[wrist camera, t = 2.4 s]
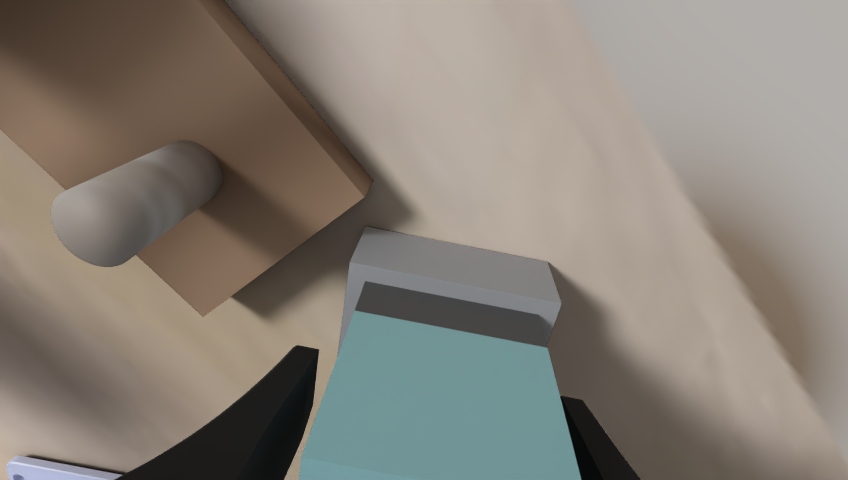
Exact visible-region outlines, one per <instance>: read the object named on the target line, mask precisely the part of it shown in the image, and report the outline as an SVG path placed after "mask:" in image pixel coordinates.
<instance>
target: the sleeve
mask: <svg viewBox="0 0 848 480" xmlns="http://www.w3.org/2000/svg"><path fill="white" fill-rule="evenodd" d="M299 480H581V476H580V472H579V468H578V465H577V461H576V457H575V453H574V449H573V445H572V441H571V437H570V433H569V429H568V425H567V422H566V418H565V414H564V410H563V406H562V402H561V398H560V394H559V390H558V386H557V382H556V379H555V375H554V371H553V367H552V363H551V359H550V355H549V351H548V347H547V343H546V340H545V336H544V332H543V328H542V324H541V320H540V316H539V315H538V314H533V313H528V312H522V311H517V310H512V309H507V308H502V307H497V306H491V305H486V304H481V303H476V302H471V301H466V300H461V299H455V298H450V297H445V296H440V295H435V294H430V293H425V292H419V291H414V290H409V289H404V288H399V287H394V286H389V285H383V284H378V283H373V282H368V281H365V283H364V286H363V288H362V291H361V294H360V297H359V299H358V302H357V305H356V308H355V310H354V313H353V316H352V319H351V321H350V324H349V327H348V330H347V332H346V335H345V338H344V341H343V343H342V346H341V349H340V352H339V355H338V357H337V360H336V363H335V366H334V368H333V371H332V374H331V377H330V379H329V382H328V385H327V388H326V390H325V393H324V396H323V399H322V401H321V404H320V407H319V410H318V412H317V415H316V418H315V421H314V424H313V426H312V429H311V432H310V435H309V437H308V440H307V443H306V446H305V448H304V451H303V454H302V457H301V465H300V474H299Z"/></svg>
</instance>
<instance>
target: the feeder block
mask: <svg viewBox="0 0 848 480" xmlns="http://www.w3.org/2000/svg"><path fill="white" fill-rule="evenodd" d="M365 281H368V282H373V283H378V284H383V285H389V286H394V287H399V288H404V289H409V290H414V291H419V292H425V293H430V294H435V295H440V296H445V297H450V298H455V299H461V300H466V301H471V302H476V303H481V304H486V305H491V306H497V307H502V308H507V309H512V310H517V311H522V312H528V313H533V314H538V315H539V316H540V320H541V324H542V328H543V332H544V336H545V340H546V343H548V340H549V337H550V335H551V332H552V329H553V326H554V324H555V321H556V318H557V315H558V313H559V310H560V307H561V304H562V303H561V300H560V297H559V294H558V291H557V288H556V285H555V282H554V279H553V276H552V274H551V271H550V268H549V265H548V262H546V261H541V260H535V259H530V258H525V257H520V256H515V255H510V254H505V253H500V252H495V251H489V250H484V249H479V248H474V247H469V246H464V245H459V244H454V243H449V242H443V241H438V240H433V239H428V238H423V237H418V236H413V235H408V234H403V233H397V232H392V231H387V230H382V229H377V228H372V227H367V226H366V227H365V229H364V232H363V234H362V236H361V238H360V240H359V243H358V245H357V247H356V249H355V251H354V254H353V256H352V258H351V260H350V264H349V271H348V279H347V286H346V294H345V302H344V309H343V317H342V325H341V332H340V340H339V348H338V355H339V352H340V349H341V346H342V343H343V341H344V338H345V335H346V332H347V330H348V327H349V324H350V321H351V319H352V316H353V313H354V310H355V308H356V305H357V302H358V299H359V297H360V294H361V291H362V288H363V286H364V283H365ZM338 355H337V357H338Z"/></svg>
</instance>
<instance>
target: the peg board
mask: <svg viewBox="0 0 848 480" xmlns="http://www.w3.org/2000/svg"><path fill="white" fill-rule="evenodd" d="M0 129H1V130H2V131H3V132H4V133H5V134H6V135H7V136H8V137H9V138H10V139H11V140H12V141H14V142H15V143H16V144H17V145H18V146H19V147H20V148H21V149H22V150H23V151H24V152H25V153H27V154H28V155H29V156H30V157H31V158H32V159H33V160H34V161H35V162H36V163H37V164H38V165H39V166H41V167H42V168H43V169H44V170H45V171H46V172H47V173H48V174H49V175H50V176H51V177H52V178H54V179H55V180H56V181H57V182H58V183H59V184H60V185H61V186H62V187H63V188H64V189H65V190H66V191H64V192H62V193H61V194H60V195H58V197H57V198H56V199H55V201H54V202H53V205H52V208H51V221H52V225H53V228H54V231H55V233H56V235H57V237H58V238H59V240H60V241H61V243H62V244H63V245H64V246H65V247H66V248H67V249H68V250H69V251H70V252H71V253H72V254H74V255H75V256H77V257H78V258H80V259H81V260H83V261H85V262H88V263H90V264H93V265H96V266H102V267H113V266H118V265H121V264H123V263H125V262H126V261H128V260H129V259H130V258H132V257H133V256H135V255H137V256H138V257H139V258H140V259H141V260H142V261H143V262H144V263H145V264H146V265H148V266H149V267H150V268H151V269H152V270H153V271H154V272H155V273H156V274H157V275H158V276H159V277H160V278H162V279H163V280H164V281H165V282H166V283H167V284H168V285H169V286H170V287H171V288H172V289H173V290H175V291H176V292H177V293H178V294H179V295H180V296H181V297H182V298H183V299H184V300H185V301H186V302H187V303H189V304H190V305H191V306H192V307H193V308H194V309H195V310H196V311H197V312H198V313H199V314H200V315H202V316H203V317H204V316H205V315H206V314H208V313H209V312H210V311H212V310H213V309H215V308H216V307H217V306H219V305H220V304H221V303H223V302H224V301H225V300H227V299H228V298H229V297H231V296H232V295H233V294H235V293H236V292H237V291H239V290H240V289H241V288H243V287H244V286H246V285H247V284H248V283H250V282H251V281H252V280H254V279H255V278H256V277H258V276H259V275H260V274H262V273H263V272H264V271H266V270H267V269H268V268H270V267H271V266H272V265H274V264H275V263H277V262H278V261H279V260H281V259H282V258H283V257H285V256H286V255H287V254H289V253H290V252H291V251H293V250H294V249H295V248H297V247H298V246H299V245H301V244H302V243H304V242H305V241H306V240H308V239H309V238H310V237H312V236H313V235H314V234H316V233H317V232H318V231H320V230H321V229H322V228H324V227H325V226H326V225H328V224H329V223H330V222H332V221H333V220H335V219H336V218H337V217H339V216H340V215H341V214H343V213H344V212H345V211H347V210H348V209H349V208H351V207H352V206H353V205H355V204H356V203H357V202H359V201H360V200H362V199H363V198H364V197H365V195H366V194H367V192H368V190H369V188H370V186H371V184H372V182H373V180H372V178H371V177H370V176H369V175H368V174H367V172H366V171H365V170H364V169H363V168H362V166H361V165H360V164H359V163H358V162H357V160H356V159H355V158H354V157H353V156H352V154H351V153H350V152H349V151H348V150H347V148H346V147H345V146H344V145H343V143H342V142H341V141H340V140H339V139H338V137H337V136H336V135H335V134H334V133H333V131H332V130H331V129H330V128H329V127H328V125H327V124H326V123H325V122H324V121H323V119H322V118H321V117H320V116H319V115H318V113H317V112H316V111H315V110H314V109H313V107H312V106H311V105H310V104H309V103H308V101H307V100H306V99H305V98H304V96H303V95H302V94H301V93H300V92H299V90H298V89H297V88H296V87H295V86H294V84H293V83H292V82H291V81H290V80H289V78H288V77H287V76H286V75H285V74H284V72H283V71H282V70H281V69H280V68H279V66H278V65H277V64H276V63H275V62H274V60H273V59H272V58H271V57H270V56H269V54H268V53H267V52H266V51H265V49H264V48H263V47H262V46H261V45H260V43H259V42H258V41H257V40H256V39H255V37H254V36H253V35H252V34H251V33H250V31H249V30H248V29H247V28H246V27H245V25H244V24H243V23H242V22H241V21H240V19H239V18H238V17H237V16H236V15H235V13H234V12H233V11H232V10H231V9H230V7H229V6H228V5H227V4H226V2H225V1H224V0H0Z"/></svg>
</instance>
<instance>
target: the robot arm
mask: <svg viewBox="0 0 848 480" xmlns="http://www.w3.org/2000/svg"><path fill="white" fill-rule="evenodd" d="M318 354H319V349H314V348H309V347H304V346H298V345H297V346H295V347H293V348H292V349H291V350H290V352H289V353H288V354H287V355H286V356H285V357H284V358H283V359H282V360H281V361H280V362H279V363H278V364H277V365H276V366H275V367H274V368H273V369H272V370H271V371H270V372H269V373H268V374H267V375H266V376H265V377H263V378H262V379H261V380H260V381H259V382H258V383H257V384H256V385H255V386H253V387H252V388H251V389H250V390H249V391H248V392H247V393H246V394H244V395H243V396H242V397H241V398H240V399H238V400H237V401H236V402H235V403H233V404H232V405H231V406H230V407H229V408H227V409H226V410H225V411H224V412H222V413H221V414H220V415H219V416H217V417H216V418H215V419H213V420H212V421H210V422H209V423H208V424H206V425H205V426H204V427H202V428H201V429H199V430H198V431H196V432H195V433H193V434H192V435H191V436H189V437H188V438H186V439H185V440H183V441H181V442H180V443H178V444H177V445H175V446H173V447H172V448H170V449H169V450H167V451H165V452H164V453H162V454H161V455H159V456H157V457H155V458H154V459H152V460H150V461H149V462H147V463H145V464H143V465H141V466H139V467H138V468H136V469H134V470H132V471H130V472H128V473H126V474H124V475H120V474H115V473H110V472H104V471H99V470H94V469H88V468H83V467H78V466H72V465H67V464H62V463H56V462H51V461H46V460H40V459H35V458H30V457H24V456H16V457H14V458H13V459H11V460H10V461H9V462H8V464H7V465H6V469H7V473H8V476H9V480H284V478H285V476H286V474H287V471H288V469H289V467H290V465H291V463H292V460H293V458H294V456H295V454H296V451H297V449H298V447H299V445H300V442H301V440H302V437H303V434H304V431H305V428H306V425H307V422H308V419H309V416H310V412H311V409H312V406H313V399H314V390H315V381H316V372H317V363H318ZM560 398H561V402H562V406H563V410H564V414H565V418H566V422H567V425H568V429H569V433H570V437H571V441H572V445H573V449H574V453H575V457H576V461H577V465H578V468H579V472H580V476H581V480H641V479H640V478H639V477H638V476H637V474H636V473H635V472H634V470H633V469H632V468H631V467H630V465H629V464H628V463H627V461H626V460H625V459H624V457H623V456H622V455H621V453H620V452H619V451H618V449H617V448H616V447H615V445H614V444H613V442H612V441H611V440H610V438H609V437H608V435H607V434H606V433H605V431H604V430H603V428H602V427H601V426H600V424H599V423H598V421H597V420H596V419H595V417H594V416H593V414H592V413H591V412H590V410H589V409H588V407H587V406H586V405H585V403H584V402H583V401H582V400H579V399H574V398H569V397H564V396H560Z"/></svg>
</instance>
